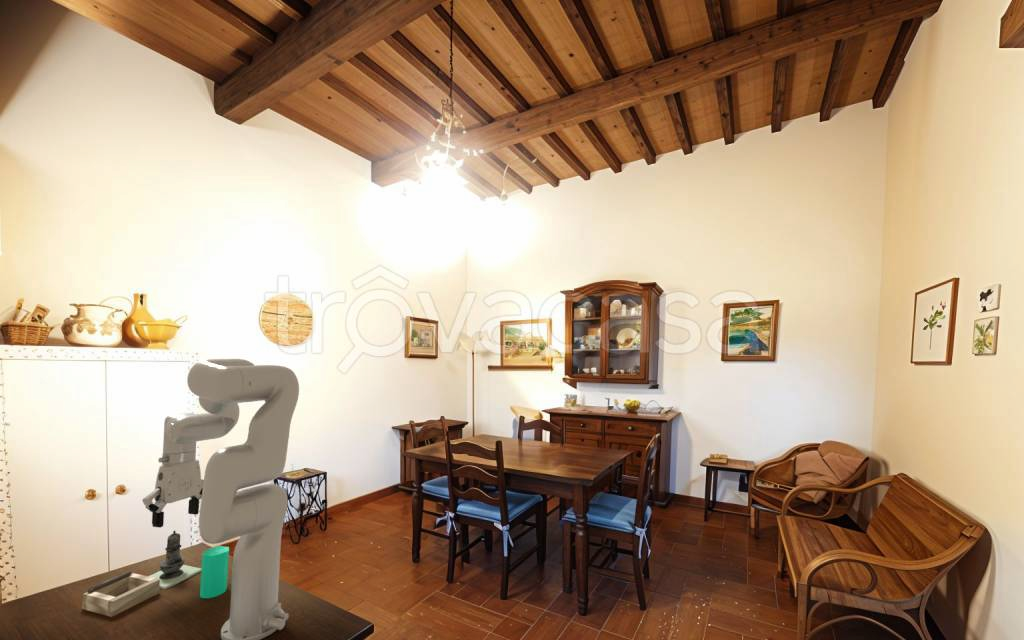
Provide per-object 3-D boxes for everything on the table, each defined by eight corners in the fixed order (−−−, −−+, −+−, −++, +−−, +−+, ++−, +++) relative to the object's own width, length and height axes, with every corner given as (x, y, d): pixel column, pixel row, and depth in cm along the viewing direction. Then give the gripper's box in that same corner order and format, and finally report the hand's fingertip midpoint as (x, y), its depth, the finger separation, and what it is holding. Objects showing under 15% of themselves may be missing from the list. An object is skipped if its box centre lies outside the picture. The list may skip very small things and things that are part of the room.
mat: (202, 570, 123) (202, 568, 123) (165, 589, 114) (165, 587, 114) (176, 565, 126) (176, 563, 126) (138, 583, 116) (138, 580, 116)
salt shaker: (163, 571, 122) (166, 527, 122) (188, 568, 123) (191, 525, 124) (153, 581, 116) (156, 536, 117) (179, 578, 118) (182, 533, 119)
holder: (158, 593, 112) (160, 575, 112) (111, 616, 102) (113, 597, 102) (130, 586, 115) (131, 568, 115) (81, 608, 105) (83, 589, 105)
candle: (213, 599, 109) (215, 551, 110) (193, 596, 110) (196, 548, 111) (232, 587, 115) (235, 541, 116) (213, 584, 116) (216, 538, 117)
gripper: (156, 466, 113) (152, 533, 111) (217, 451, 129) (215, 510, 128) (135, 464, 115) (131, 530, 113) (199, 450, 131) (196, 508, 130)
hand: (176, 520), depth 120 cm, fingers open, 9 cm apart
